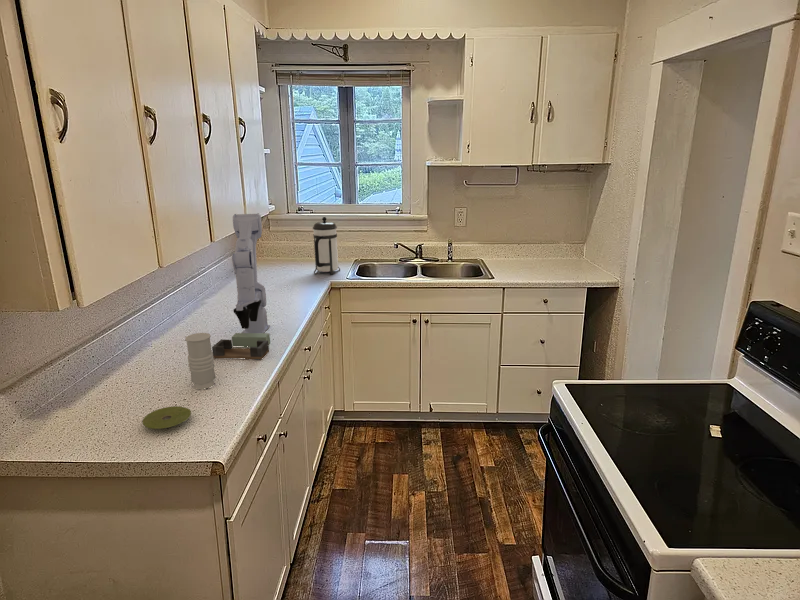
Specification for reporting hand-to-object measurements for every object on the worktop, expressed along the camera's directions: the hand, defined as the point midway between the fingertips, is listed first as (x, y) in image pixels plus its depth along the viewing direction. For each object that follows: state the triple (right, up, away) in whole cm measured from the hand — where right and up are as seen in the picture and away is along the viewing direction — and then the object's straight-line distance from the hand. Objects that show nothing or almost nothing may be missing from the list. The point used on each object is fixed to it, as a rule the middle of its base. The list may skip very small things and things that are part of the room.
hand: (249, 324), depth 182 cm
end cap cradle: (-1, -10, -6) cm, 12 cm away
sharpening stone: (0, -8, +2) cm, 8 cm away
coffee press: (+12, +23, +104) cm, 107 cm away
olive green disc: (-7, -23, -49) cm, 54 cm away
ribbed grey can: (-5, -17, -28) cm, 33 cm away
